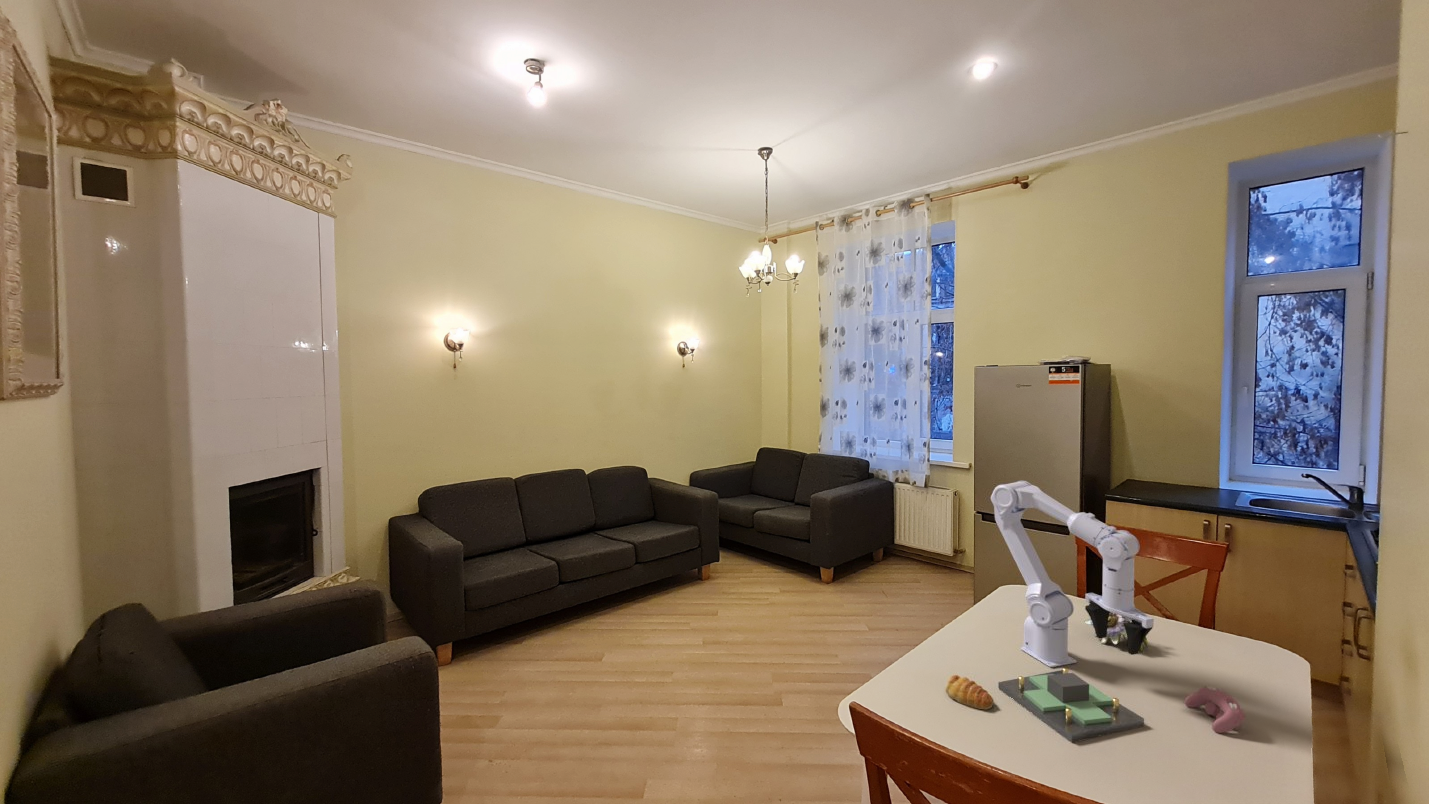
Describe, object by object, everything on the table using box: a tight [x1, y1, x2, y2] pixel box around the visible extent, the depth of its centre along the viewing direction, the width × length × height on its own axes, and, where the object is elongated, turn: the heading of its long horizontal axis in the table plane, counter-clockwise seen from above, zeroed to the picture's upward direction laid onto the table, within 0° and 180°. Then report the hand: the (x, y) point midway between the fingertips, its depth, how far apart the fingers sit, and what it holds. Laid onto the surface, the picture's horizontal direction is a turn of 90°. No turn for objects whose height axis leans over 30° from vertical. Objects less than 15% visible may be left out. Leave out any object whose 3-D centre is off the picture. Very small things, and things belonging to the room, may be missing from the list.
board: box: [1024, 672, 1113, 724], centre depth 118 cm, size 16×16×4 cm
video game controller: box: [1184, 685, 1247, 734], centre depth 113 cm, size 10×5×7 cm, turn 170°
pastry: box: [945, 674, 995, 710], centre depth 122 cm, size 9×7×4 cm
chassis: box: [997, 667, 1145, 743], centre depth 118 cm, size 19×18×4 cm
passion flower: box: [1083, 612, 1149, 653], centre depth 145 cm, size 11×11×12 cm
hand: (1117, 645), depth 125 cm, fingers open, 7 cm apart
